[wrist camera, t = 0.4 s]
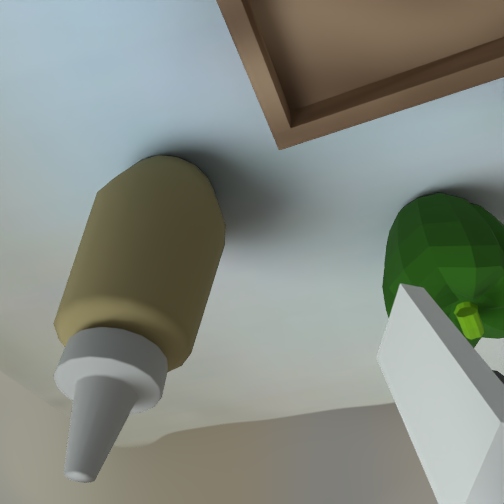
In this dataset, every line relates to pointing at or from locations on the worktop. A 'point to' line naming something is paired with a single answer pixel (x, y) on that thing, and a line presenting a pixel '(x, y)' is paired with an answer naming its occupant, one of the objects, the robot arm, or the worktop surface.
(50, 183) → the worktop surface
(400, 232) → the bell pepper
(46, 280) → the worktop surface
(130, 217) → the squeeze bottle
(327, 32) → the walnut tray
